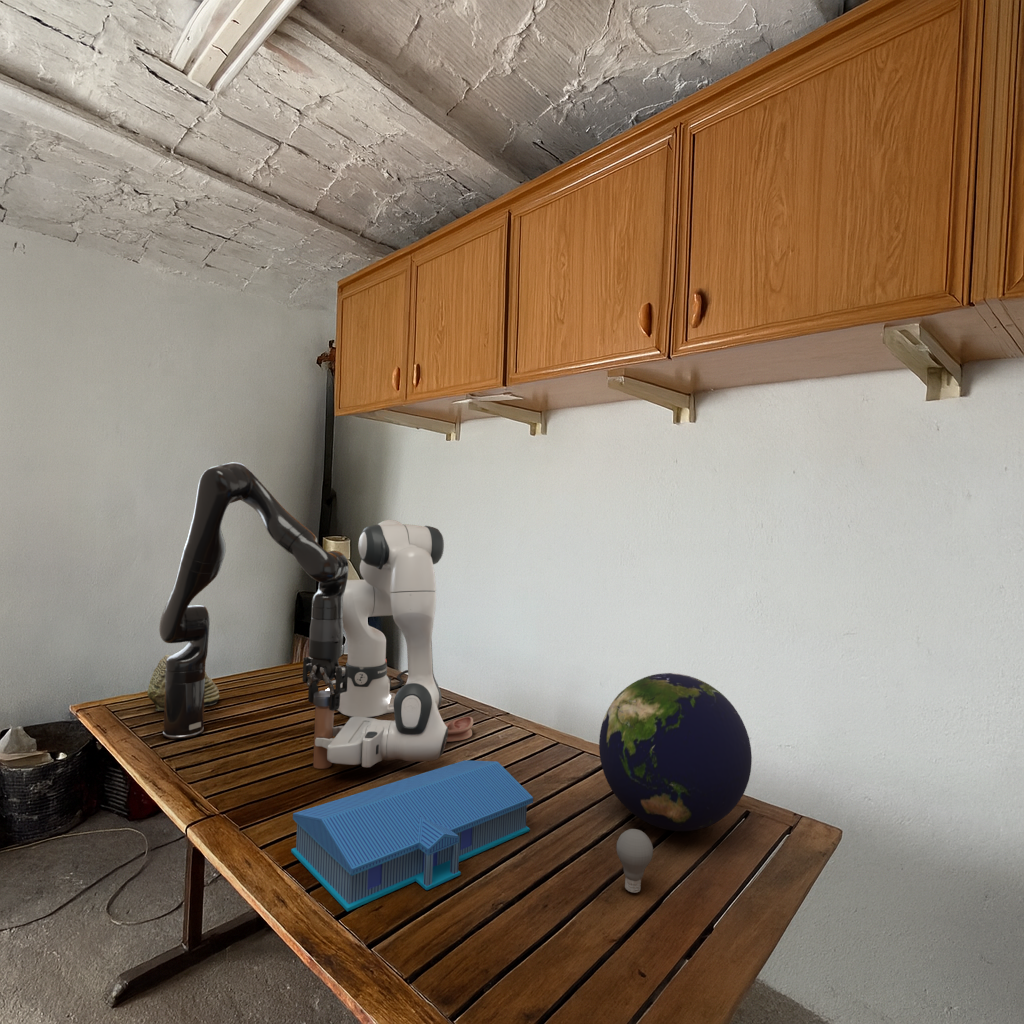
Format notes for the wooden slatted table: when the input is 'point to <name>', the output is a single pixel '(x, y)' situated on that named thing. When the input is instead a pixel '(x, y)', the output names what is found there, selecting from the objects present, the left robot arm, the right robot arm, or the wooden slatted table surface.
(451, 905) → the wooden slatted table surface
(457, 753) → the wooden slatted table surface
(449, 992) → the wooden slatted table surface
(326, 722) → the brown cylinder
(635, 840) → the light bulb
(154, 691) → the fossil
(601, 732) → the globe
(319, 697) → the lid
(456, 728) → the anatomical model
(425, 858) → the model building
